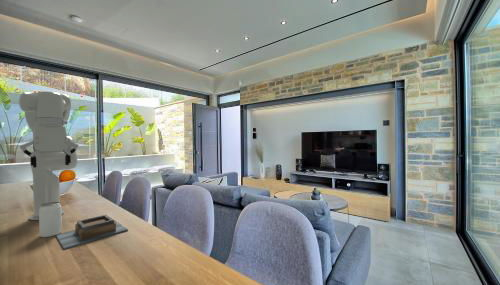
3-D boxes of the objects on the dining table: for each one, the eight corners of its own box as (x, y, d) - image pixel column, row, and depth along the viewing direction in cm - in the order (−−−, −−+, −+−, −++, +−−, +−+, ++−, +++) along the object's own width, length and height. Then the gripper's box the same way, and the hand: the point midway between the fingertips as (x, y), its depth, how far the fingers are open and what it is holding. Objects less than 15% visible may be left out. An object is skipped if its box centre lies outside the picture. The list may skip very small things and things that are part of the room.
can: (48, 238, 83) (47, 206, 82) (35, 237, 84) (34, 205, 84) (66, 231, 89) (65, 201, 89) (53, 230, 90) (52, 201, 90)
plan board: (56, 236, 84) (55, 223, 84) (114, 221, 99) (114, 210, 99) (63, 249, 74) (63, 235, 74) (127, 230, 89) (127, 218, 89)
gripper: (75, 125, 97) (76, 164, 96) (18, 123, 84) (19, 168, 83) (79, 123, 92) (80, 164, 91) (19, 121, 79) (20, 168, 78)
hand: (51, 166), depth 87 cm, fingers open, 9 cm apart
